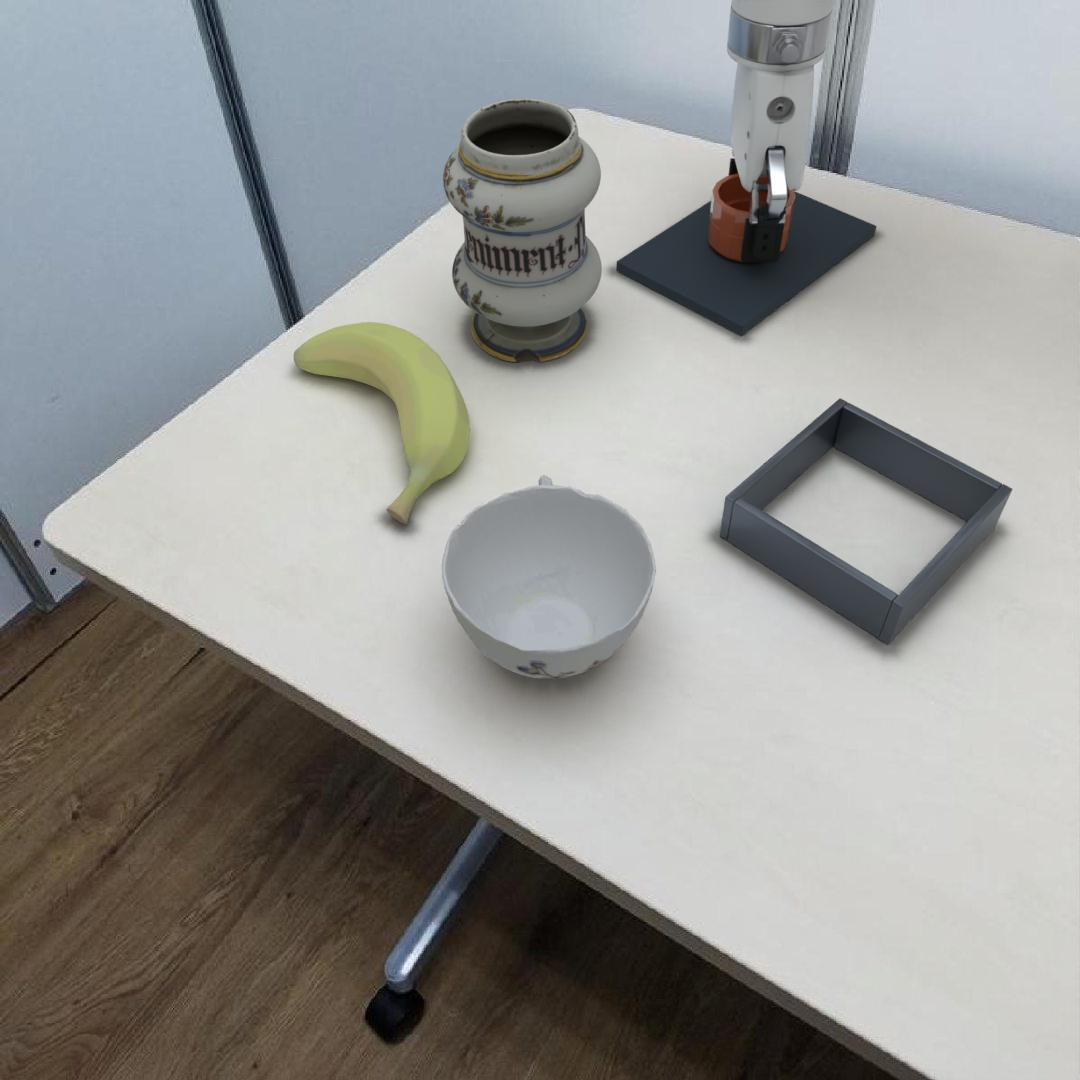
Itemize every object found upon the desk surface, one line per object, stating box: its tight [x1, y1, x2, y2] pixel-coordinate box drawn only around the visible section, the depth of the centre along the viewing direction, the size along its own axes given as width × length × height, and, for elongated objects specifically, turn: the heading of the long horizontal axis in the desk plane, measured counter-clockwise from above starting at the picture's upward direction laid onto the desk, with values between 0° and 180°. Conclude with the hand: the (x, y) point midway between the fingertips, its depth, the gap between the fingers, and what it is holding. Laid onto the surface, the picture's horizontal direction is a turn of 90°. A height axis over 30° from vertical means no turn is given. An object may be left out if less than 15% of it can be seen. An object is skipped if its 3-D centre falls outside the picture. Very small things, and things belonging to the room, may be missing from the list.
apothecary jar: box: [442, 97, 603, 363], centre depth 79 cm, size 12×12×18 cm
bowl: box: [708, 173, 795, 262], centre depth 90 cm, size 7×7×5 cm
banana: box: [293, 321, 471, 525], centre depth 77 cm, size 14×6×20 cm
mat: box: [615, 191, 877, 337], centre depth 92 cm, size 20×14×1 cm
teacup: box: [441, 474, 657, 680], centre depth 63 cm, size 15×12×8 cm
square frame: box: [719, 397, 1013, 646], centre depth 68 cm, size 13×13×4 cm
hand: (751, 229), depth 90 cm, fingers open, 9 cm apart
